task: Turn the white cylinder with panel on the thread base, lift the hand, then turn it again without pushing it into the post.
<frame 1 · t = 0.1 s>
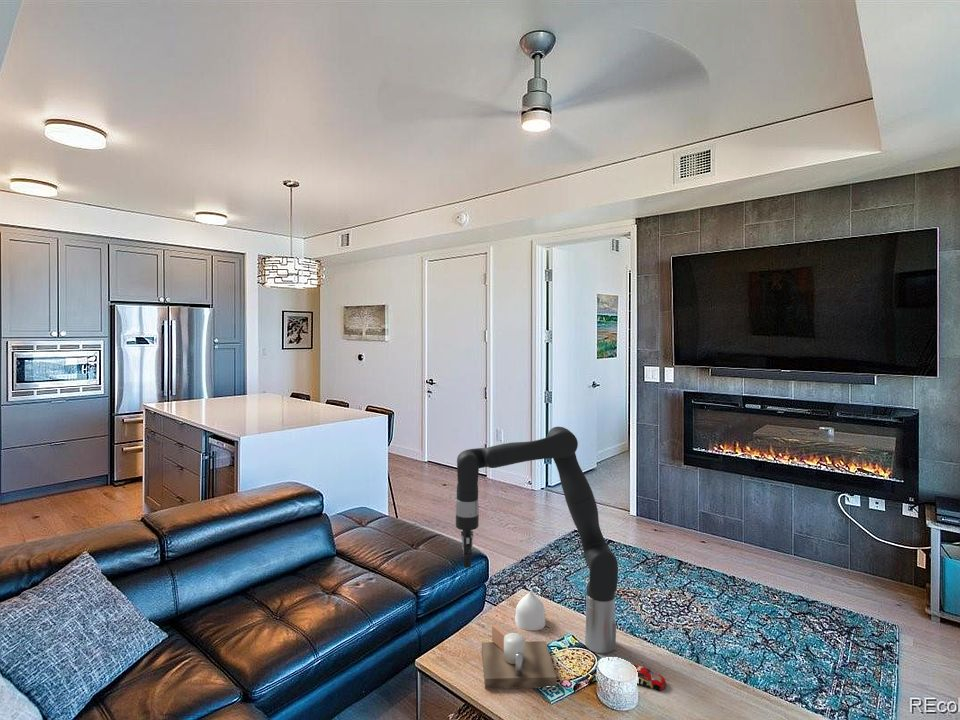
hand: (466, 561, 167), 29 cm above the table, tool pointing down, fingers open, 8 cm apart
race car: (642, 682, 153), on the table
teardrop: (530, 622, 185), on the table
thread base: (517, 668, 158), on the table
white cylinder with panel: (506, 641, 161), point 6 cm above the table, hinge at 0.0°
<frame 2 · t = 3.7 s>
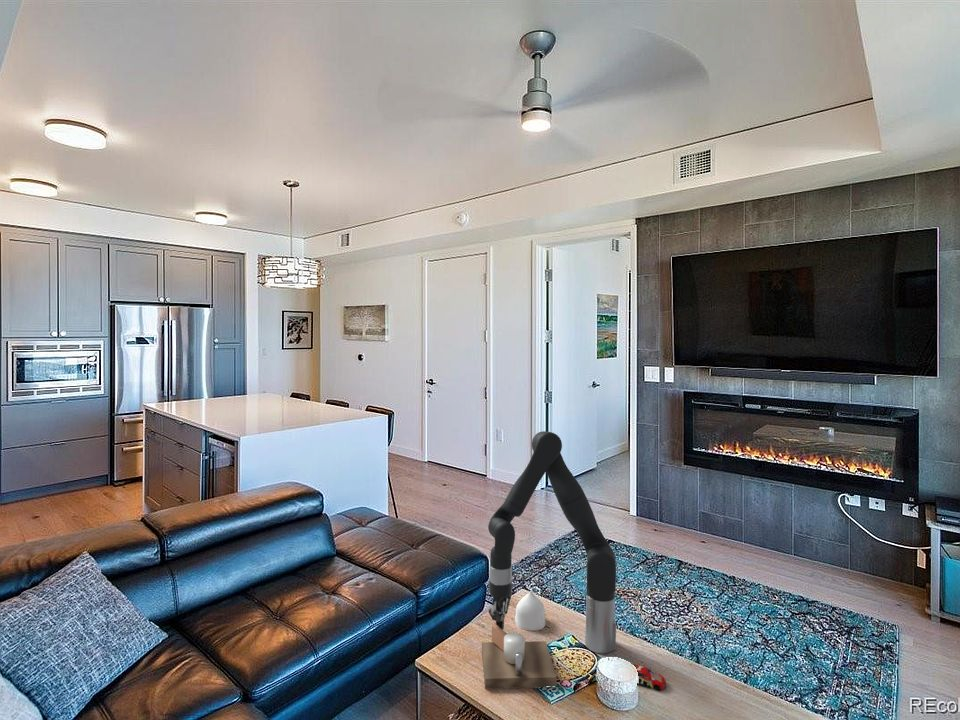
hand: (499, 629, 169), 6 cm above the table, tool pointing down, fingers closed
white cylinder with panel: (506, 641, 161), point 6 cm above the table, hinge at 0.7°, touching gripper
everything else where it was.
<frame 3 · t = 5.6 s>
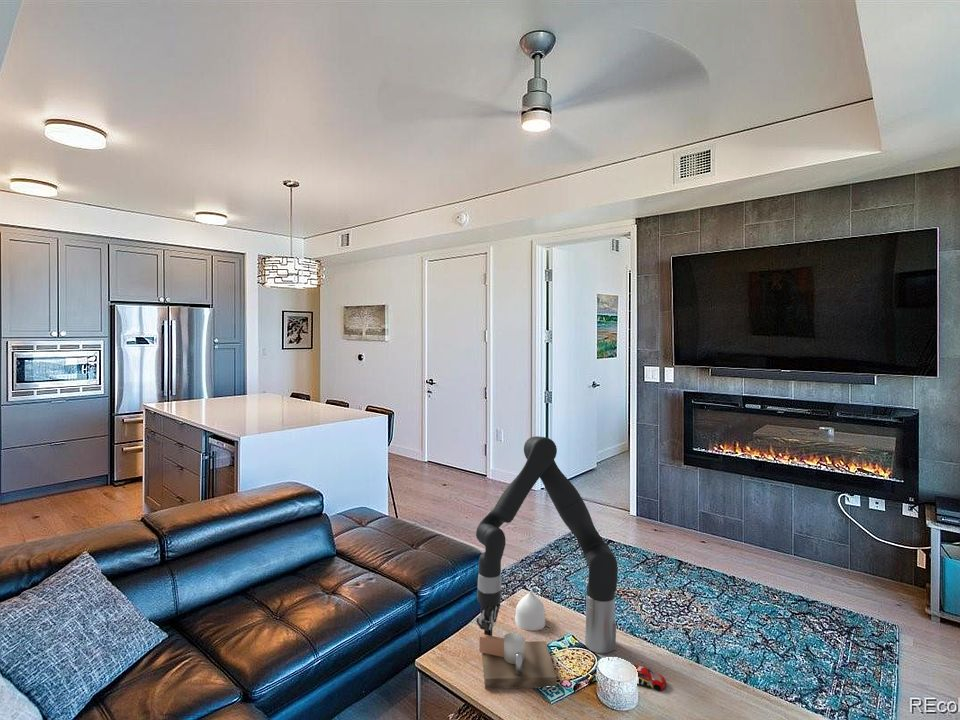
hand: (488, 638, 164), 6 cm above the table, tool pointing down, fingers closed
white cylinder with panel: (502, 645, 159), point 6 cm above the table, hinge at 39.4°, touching gripper
everything else where it was.
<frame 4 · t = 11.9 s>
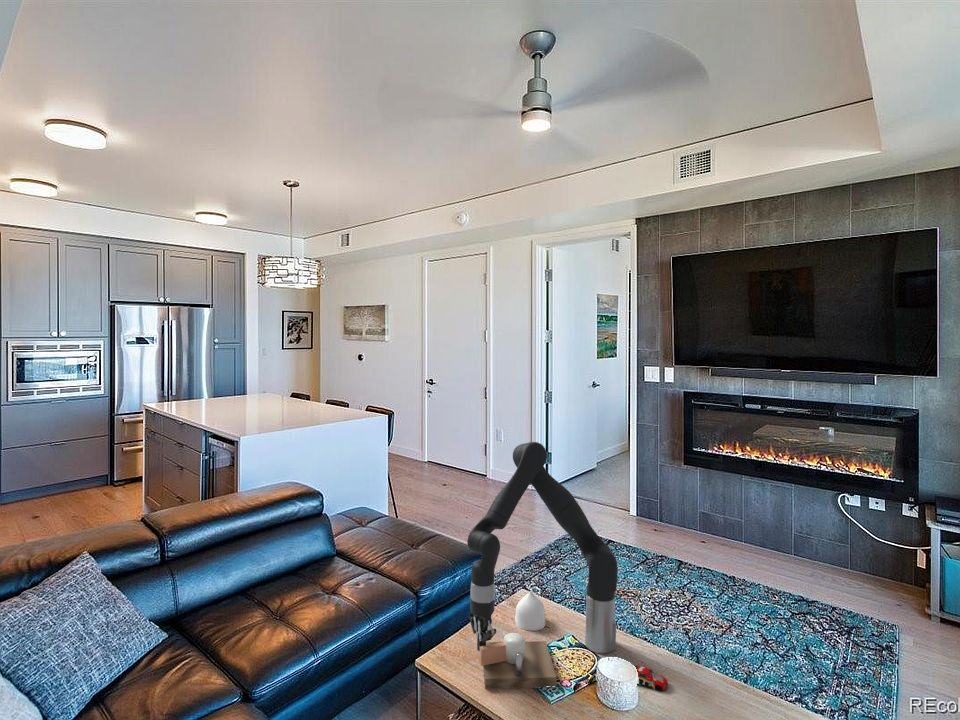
hand: (481, 650, 158), 6 cm above the table, tool pointing down, fingers closed
white cylinder with panel: (502, 650, 157), point 6 cm above the table, hinge at 75.4°, touching gripper
everything else where it was.
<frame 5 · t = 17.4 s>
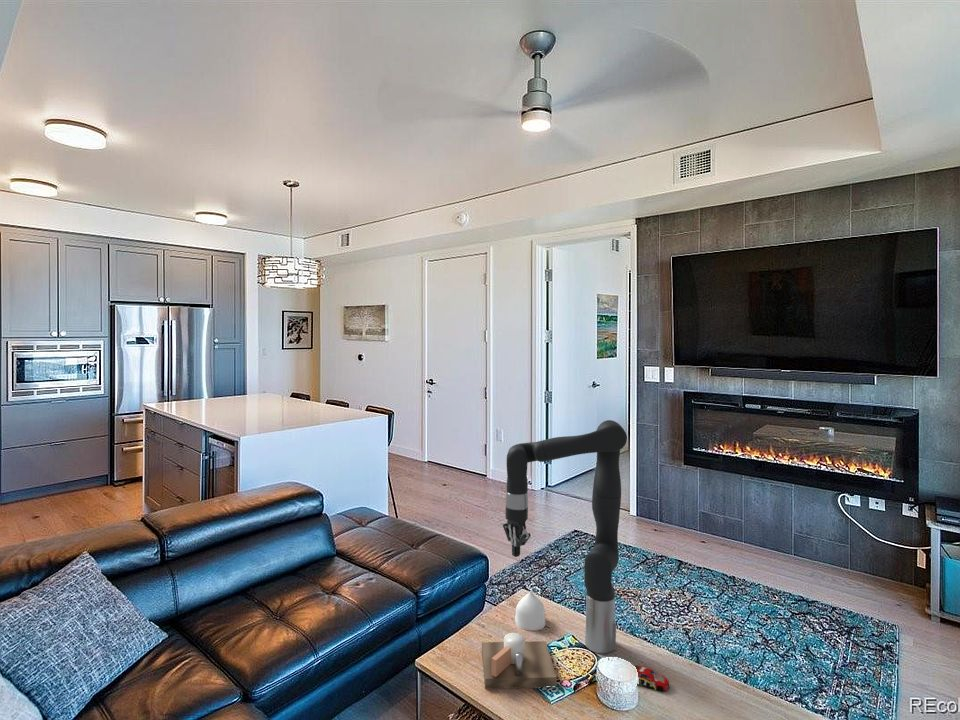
hand: (515, 555, 172), 29 cm above the table, tool pointing down, fingers closed
white cylinder with panel: (507, 654, 155), point 6 cm above the table, hinge at 110.4°
everything else where it was.
at the end: white cylinder with panel at +110° (first picture: +0°); the gripper is holding nothing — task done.
